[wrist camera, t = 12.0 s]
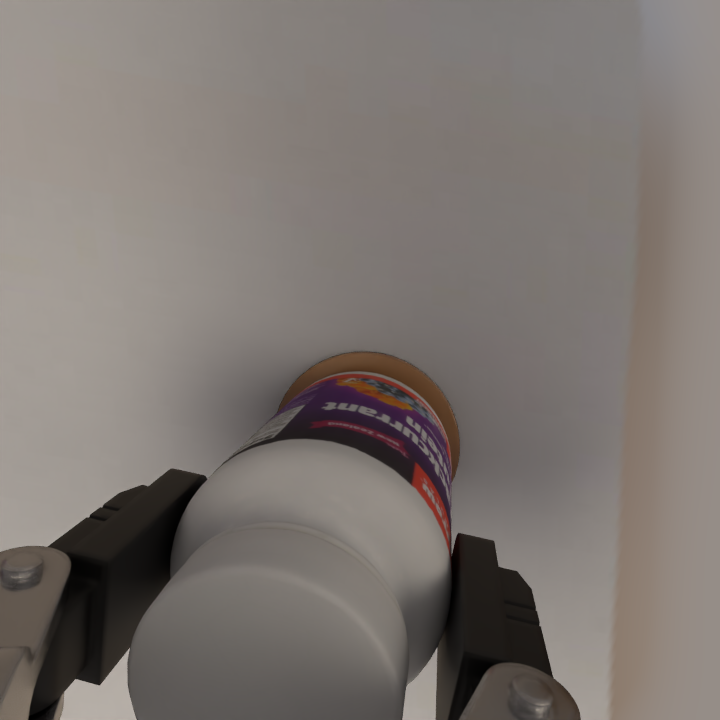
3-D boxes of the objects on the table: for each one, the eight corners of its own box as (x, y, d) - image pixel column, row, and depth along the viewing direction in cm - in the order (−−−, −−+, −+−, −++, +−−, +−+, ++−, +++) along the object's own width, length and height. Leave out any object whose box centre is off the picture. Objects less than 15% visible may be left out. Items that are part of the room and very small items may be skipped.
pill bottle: (489, 453, 17) (546, 726, 7) (368, 567, 18) (279, 924, 8) (355, 328, 16) (230, 437, 7) (242, 451, 18) (10, 683, 8)
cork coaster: (288, 335, 18) (285, 336, 18) (477, 371, 17) (477, 373, 17) (265, 506, 19) (262, 510, 19) (439, 546, 18) (439, 551, 18)
